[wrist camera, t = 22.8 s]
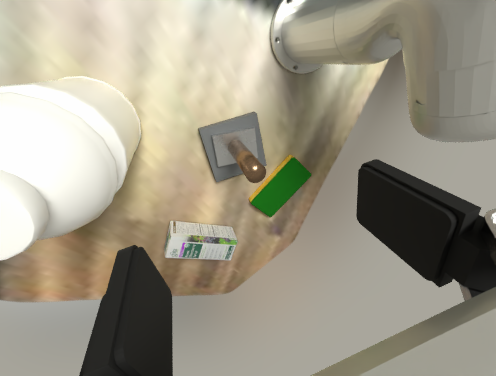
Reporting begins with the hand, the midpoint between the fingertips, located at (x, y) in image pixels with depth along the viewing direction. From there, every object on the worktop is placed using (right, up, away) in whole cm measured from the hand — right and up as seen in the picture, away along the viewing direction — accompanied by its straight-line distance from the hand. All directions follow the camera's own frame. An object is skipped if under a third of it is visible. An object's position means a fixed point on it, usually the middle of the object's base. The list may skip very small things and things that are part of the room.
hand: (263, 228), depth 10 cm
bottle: (-26, +12, +28) cm, 40 cm away
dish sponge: (+6, +3, +44) cm, 45 cm away
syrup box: (-4, -11, +44) cm, 46 cm away
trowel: (-3, +10, +35) cm, 36 cm away
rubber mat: (-3, +10, +36) cm, 38 cm away
